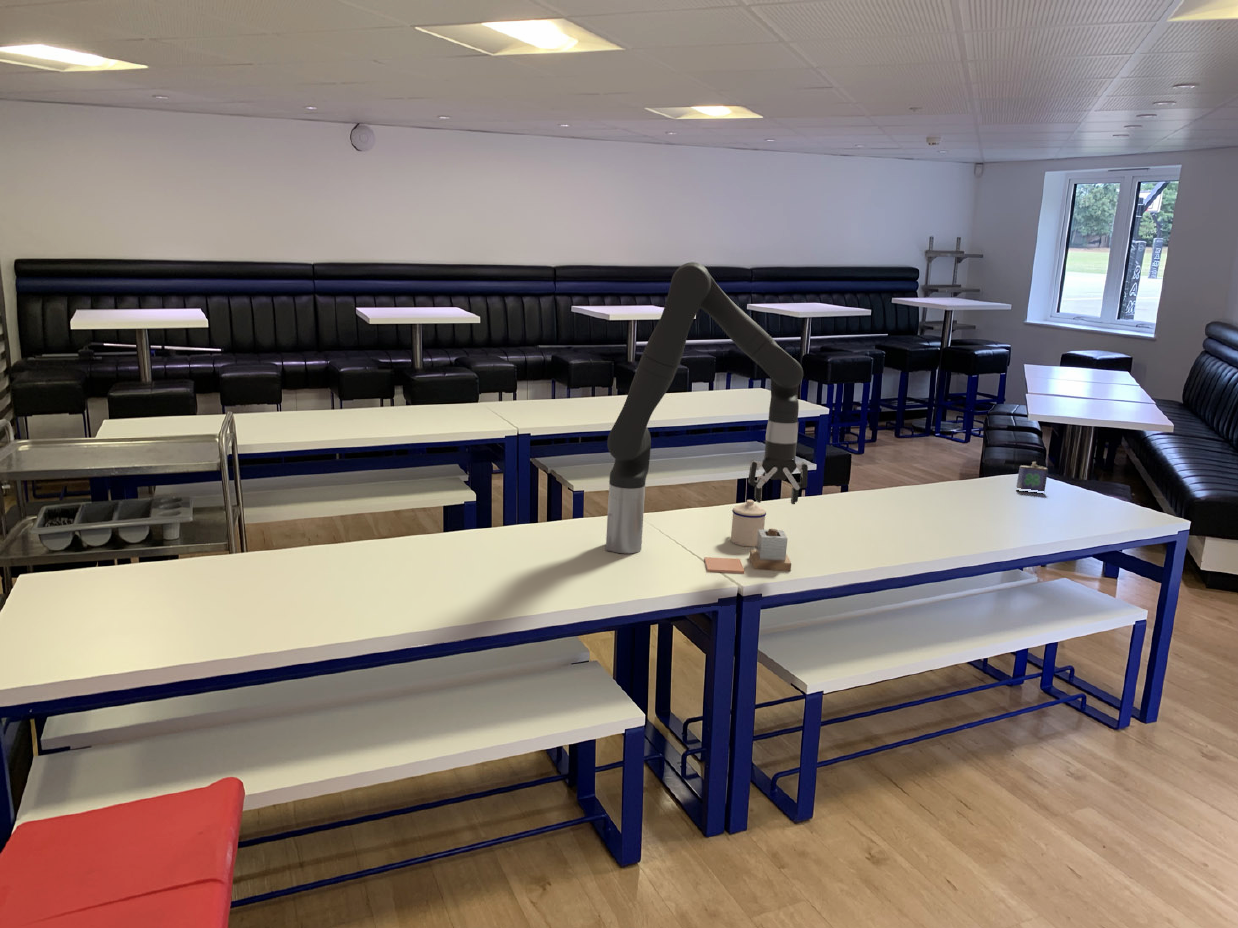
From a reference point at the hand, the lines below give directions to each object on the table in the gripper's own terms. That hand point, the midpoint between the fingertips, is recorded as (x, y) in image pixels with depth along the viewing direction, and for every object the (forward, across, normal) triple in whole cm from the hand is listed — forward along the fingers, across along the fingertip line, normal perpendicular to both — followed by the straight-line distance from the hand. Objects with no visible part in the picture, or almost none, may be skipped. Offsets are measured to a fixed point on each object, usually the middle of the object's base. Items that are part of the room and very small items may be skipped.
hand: (775, 502), depth 230 cm
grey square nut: (+14, 0, 0) cm, 14 cm away
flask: (+17, +105, +90) cm, 139 cm away
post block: (+16, 0, 0) cm, 16 cm away
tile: (+16, -12, -3) cm, 20 cm away
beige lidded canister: (+16, -4, +19) cm, 25 cm away
